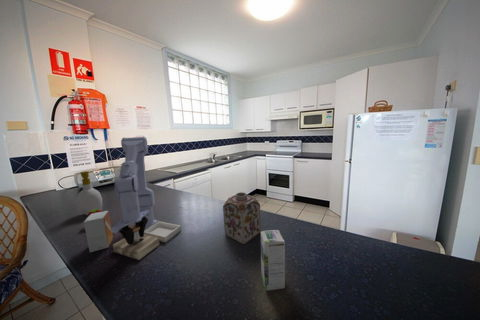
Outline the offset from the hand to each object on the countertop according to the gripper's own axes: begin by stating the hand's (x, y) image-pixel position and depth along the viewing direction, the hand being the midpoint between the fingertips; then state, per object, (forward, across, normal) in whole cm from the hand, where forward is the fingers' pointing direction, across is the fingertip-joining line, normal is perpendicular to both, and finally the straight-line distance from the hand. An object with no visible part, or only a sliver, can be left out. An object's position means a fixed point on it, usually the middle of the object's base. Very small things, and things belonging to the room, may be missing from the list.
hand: (135, 239), depth 67 cm
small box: (+4, -3, +17) cm, 18 cm away
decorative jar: (+4, +22, -37) cm, 43 cm away
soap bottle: (+4, +15, +58) cm, 60 cm away
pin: (+4, 0, 0) cm, 4 cm away
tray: (+4, +11, -2) cm, 12 cm away
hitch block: (+4, 0, 0) cm, 4 cm away
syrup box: (+4, +2, -54) cm, 54 cm away
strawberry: (+4, +7, +39) cm, 40 cm away
